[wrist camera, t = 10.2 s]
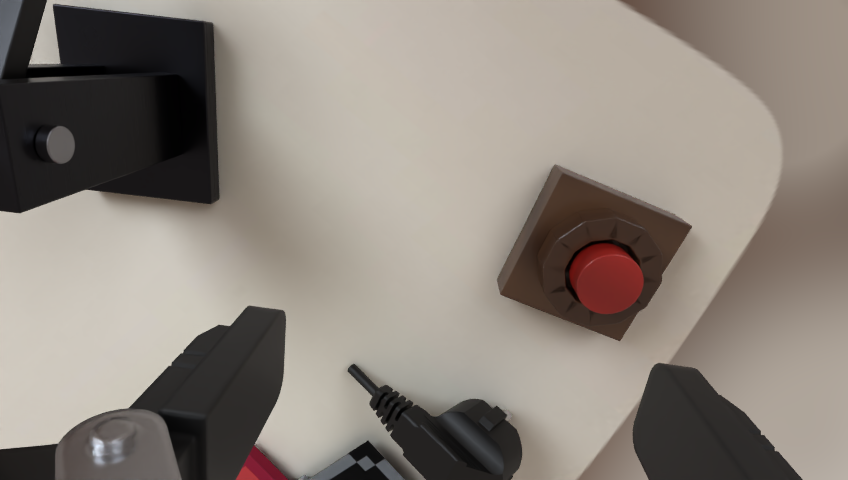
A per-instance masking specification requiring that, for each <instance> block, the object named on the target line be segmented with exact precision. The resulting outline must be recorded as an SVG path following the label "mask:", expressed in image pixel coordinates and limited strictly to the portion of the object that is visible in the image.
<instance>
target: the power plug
mask: <svg viewBox="0 0 848 480" xmlns="http://www.w3.org/2000/svg"><path fill="white" fill-rule="evenodd" d="M348 372H349V373H350V374H351V375H352V376H353V377H354V378H355V379H356V380H357V381H358V382H359V383H360V384H361V385H362V386H363V387H364V388H365V389H366V390H367V391H368V392H369V393H370V394H371V395H372V396H373V397H372V399H371V401H370V406H371V408H372V409H373V410H374V411H375V410H377V412H376V415H377V416H378V418H379V417H381V416H383V417H382V419H381V422H382V424H383V425H384V424H386V423H388V424H387V426H386V430H387V431H388V432H389V431H391V430H393V431H392V433H391V435H390V436H391V437H392V439H393V440H394V441H395V442H396V443H397V444H398V445H399V446H400V447H401V448H402V449H403V452H404V453H403V456H404V457H405V458H406V459H407V460H408V461H409V462H410V463H411V464H412V465H413V466H414V467H415V468H416V469H417V470H418V471H419V473H420V474H421V475H422V476H423V477H424V478H425V479H426V480H511V479H512V477H513V476H512V475H513V474H514V473H515V472H516V471H517V470H518V469H519V467H520V464H521V459H522V446H521V441H520V437H519V434H518V432H517V430H516V429H515V428H514V427H513V426H512V425H511V424H510V423H509V422H508V421H510V420H511V418H512V414H511V412H510V411H509V410H504V411H502V410H501V409H500V408H499V407H498V406H495V407H494V408H492V407H490V406H489V405H488V404H487V403H486V402H485V401H484V400H480V399H469V400H465V401H463V402H461V403H459V404H457V405H456V406H454V407H453V408H451V409H449V410H448V411H446V412H445V413H443V414H441V415H440V416H438V417H433V416H431V415H430V414H429V413H428V412H427V411H425V410H424V409H422V408H421V407H419V406H418V405H415V406H413V407H411V406H412V405H413V402H412V401H410V400H408V401H405V400H406V397H404V396H403V395H402V396H400V397H398V396H399V394H400V393H398V392H397V391H395V392H392V391H393V389H392V388H391V387H389V386H388V385H384V386H382V387H380V388H378V387H377V386H376V385H375V384H374V383H373V382H372V381H371V380H370V379H369V378H368V377H367V376H366V375H365V374H364V373H363V372H362V371H361V370H360V369H359V368H358V367H357V366H356V365H355V364H353V365H351V366H350V367H349V368H348Z"/></svg>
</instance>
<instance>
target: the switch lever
mask: <svg viewBox="0 0 848 480" xmlns="http://www.w3.org/2000/svg"><path fill="white" fill-rule="evenodd" d="M46 2H47V0H0V80H1V79H23V78H25V76H26V73H27V69H28V66H29V62H30V58H31V55H32V51H33V48H34V44H35V41H36V37H37V34H38V30H39V26H40V23H41V19H42V16H43V12H44V9H45V5H46Z"/></svg>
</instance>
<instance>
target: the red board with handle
mask: <svg viewBox="0 0 848 480" xmlns="http://www.w3.org/2000/svg"><path fill="white" fill-rule="evenodd" d="M236 480H288V479H287V478H286V477H285V476H284V475H283V474H282V473H281V472H280V471H279V470H278V469H277V468H276V467H275V466H274V465H273V464H272V463H271V462H270V461H269V460H268V459H267V458H266V457H265V456H264V455H263V454H262V453H261V452H260V451H259V450H258V449H257V448H256V447H255V446H253V448H252V450H251V452H250V454H249V456H248V457H247V459H246V461H245V463H244V465H243V467H242V469H241V471H240V473H239V475H238V477H237V478H236ZM298 480H405V479H404V478H403V477H402V476H401V475H400V474H399V473H398V472H397V471H396V470H395V469H394V468H393V467H392V466H391V464H390V463H389V462H388V461H387V460H386V459H385V458H384V457H383V456H382V455H381V454H380V453H379V452H378V451H377V449H376V448H375V447H374V446H373V445H372V444H371V443H370V442H369V441H366V442H365V443H363V444H362V445H360V446H359V447H357V448H356V449H354V450H353V451H351V452H350V453H348V454H347V455H345V456H343V457H342V458H340V459H339V460H337V461H336V462H334V463H333V464H331V465H330V466H328V467H327V468H325V469H324V470H322V471H320V472H319V473H317V474H316V475H314V476H313V477H311V478H310V479H309V478H308V477H307V476H306V475H304V476H302V477H301V478H299V479H298Z"/></svg>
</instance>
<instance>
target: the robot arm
mask: <svg viewBox="0 0 848 480" xmlns="http://www.w3.org/2000/svg"><path fill="white" fill-rule="evenodd" d="M285 330H286V316H285V312H284V311H283V310H277V309H270V308H262V307H255V306H248V307H247V308H246V309H245V310H244V311H243V312H242V313H241V314H240V316H239V317H238V318H237V319H236V320H235V321H234V323H233V324H232V325H231V326H224V325H218V326H216V327H214V328H212V329H210V330H208V331H206V332H204V333H202V334H200V335H198V336H197V337H196V338H195V339H194V340H193V341H192V342H191V343H190V344H189V345H188V346H187V348H186V349H185V350H184V352H183V354H182V353H181V354H180V355H179V356H178V357H177V358H176V359H175V360H174V361H173V362H172V365H171V366H168V367H167V369H166V370H165V371H164V372H163V373H162V374H161V375H160V376H159V377H158V378H157V379H156V380H155V381H154V382H153V383H152V384H151V385H150V386H149V387H148V388H147V389H146V391H145V392H144V393H143V394H142V395H141V396H140V397H139V398H138V399H137V400H136V401H135V402H134V403H133V404H132V405H131V406H130V407H129V408H128V409H119V410H114V411H109V412H105V413H102V414H99V415H96V416H94V417H91V418H89V419H87V420H85V421H83V422H82V423H80V424H78V425H77V426H75V427H74V428H73V429H71V430H70V431H69V432H68V433H67V434H66V435H65V436H64V437H63V438H62V439H61V441H60V442H59V444H52V445H43V446H32V447H21V448H11V449H0V480H236V478H237V477H238V475H239V473H240V471H241V469H242V467H243V465H244V463H245V461H246V459H247V457H248V456H249V454H250V452H251V450H252V448H253V446H254V444H255V442H256V440H257V438H258V436H259V435H260V433H261V431H262V429H263V427H264V425H265V423H266V421H267V419H268V417H269V415H270V413H271V412H272V410H273V408H274V406H275V404H276V402H277V400H278V397H279V394H280V390H281V386H282V381H283V374H284V353H285ZM633 443H634V449H635V452H636V454H637V456H638V458H639V460H640V462H641V464H642V466H643V468H644V471H645V472H646V475H647V477H648V479H649V480H802V479H801V477H800V476H799V475H798V474H797V473H796V472H795V470H794V469H793V468H792V467H791V466H790V465H789V464H788V462H787V461H786V460H785V459H784V458H783V457H782V455H781V454H780V453H779V452H777V451H775V450H774V448H775V447H774V446H773V445H772V444H771V443H770V442H769V440H768V439H767V438H766V437H765V436H764V435H761V431H760V430H759V429H758V428H757V427H756V425H755V424H754V423H753V422H752V421H751V420H750V418H749V417H748V416H747V415H746V414H745V413H744V412H743V411H741V410H740V409H739V408H737V407H736V406H735V405H733V404H732V403H730V402H729V401H728V400H726V399H725V398H724V397H722V396H721V395H718V393H717V392H716V391H715V390H714V389H713V387H712V386H711V385H710V384H709V383H708V381H707V380H706V379H705V378H704V377H703V375H702V374H701V373H700V372H699V371H698V370H697V369H695V368H691V367H683V366H676V365H669V364H662V363H658V364H656V365H654V367H653V368H652V370H651V372H650V374H649V378H648V381H647V384H646V387H645V390H644V393H643V396H642V399H641V402H640V406H639V409H638V412H637V415H636V418H635V421H634V426H633Z"/></svg>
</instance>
